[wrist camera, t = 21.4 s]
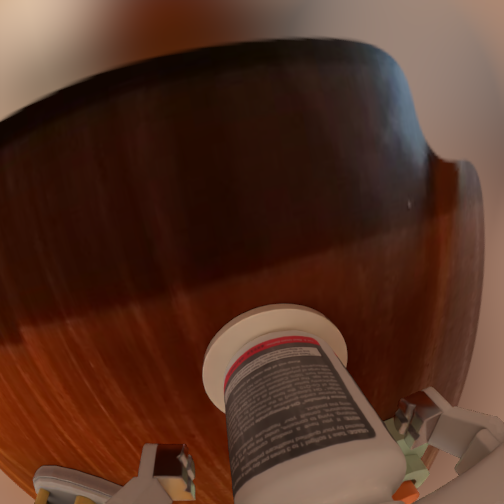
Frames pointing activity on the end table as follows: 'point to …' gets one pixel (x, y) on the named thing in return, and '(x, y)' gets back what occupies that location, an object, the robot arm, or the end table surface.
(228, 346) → the coaster
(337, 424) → the pill bottle
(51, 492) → the lantern
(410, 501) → the press button
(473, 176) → the end table surface
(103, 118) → the end table surface
